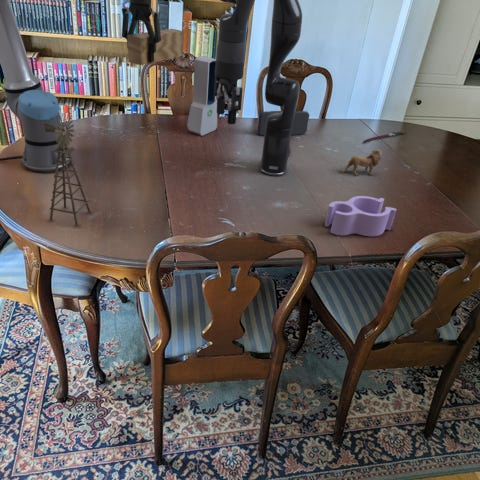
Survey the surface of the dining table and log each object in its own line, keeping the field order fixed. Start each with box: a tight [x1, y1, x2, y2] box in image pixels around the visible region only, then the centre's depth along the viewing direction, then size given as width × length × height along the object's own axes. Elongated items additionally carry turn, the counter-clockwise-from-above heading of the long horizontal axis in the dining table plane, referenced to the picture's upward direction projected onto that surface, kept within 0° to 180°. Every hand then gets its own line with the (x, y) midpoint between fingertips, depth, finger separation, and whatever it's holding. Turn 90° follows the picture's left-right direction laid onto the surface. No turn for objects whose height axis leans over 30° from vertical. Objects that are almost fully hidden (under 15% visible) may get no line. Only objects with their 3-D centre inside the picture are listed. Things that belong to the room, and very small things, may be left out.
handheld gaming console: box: [257, 110, 310, 136], centre depth 203 cm, size 23×3×10 cm, turn 108°
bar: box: [127, 28, 185, 66], centre depth 180 cm, size 26×6×9 cm, turn 150°
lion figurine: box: [343, 149, 383, 176], centre depth 175 cm, size 15×5×9 cm, turn 110°
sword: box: [363, 131, 407, 144], centre depth 214 cm, size 31×3×1 cm, turn 126°
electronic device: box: [186, 55, 218, 137], centre depth 192 cm, size 12×8×30 cm, turn 148°
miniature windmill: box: [44, 112, 92, 227], centre depth 124 cm, size 9×8×30 cm
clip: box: [324, 195, 398, 237], centre depth 141 cm, size 20×12×7 cm, turn 109°
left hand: (141, 60), depth 175 cm, fingers closed on bar, 7 cm apart
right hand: (225, 118), depth 131 cm, fingers open, 8 cm apart
